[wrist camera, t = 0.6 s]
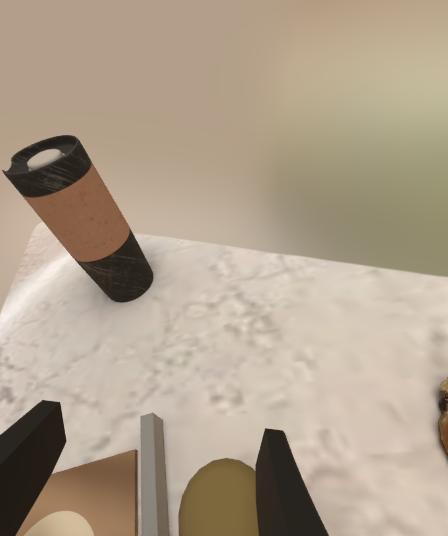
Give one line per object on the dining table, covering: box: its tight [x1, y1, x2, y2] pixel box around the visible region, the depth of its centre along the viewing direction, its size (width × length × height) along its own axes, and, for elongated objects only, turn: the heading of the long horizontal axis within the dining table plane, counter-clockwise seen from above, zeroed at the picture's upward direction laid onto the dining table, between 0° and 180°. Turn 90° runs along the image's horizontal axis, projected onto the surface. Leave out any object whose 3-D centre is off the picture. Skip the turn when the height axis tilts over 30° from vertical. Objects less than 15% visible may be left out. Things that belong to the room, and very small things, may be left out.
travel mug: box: [2, 135, 153, 302], centre depth 35 cm, size 8×8×20 cm
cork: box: [179, 458, 259, 536], centre depth 18 cm, size 6×6×11 cm
